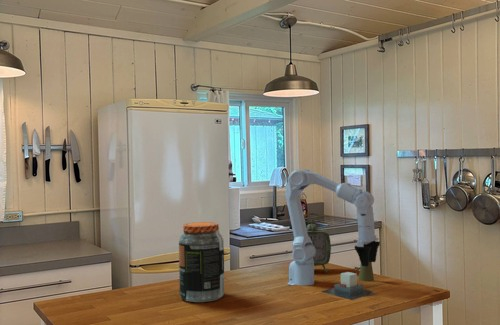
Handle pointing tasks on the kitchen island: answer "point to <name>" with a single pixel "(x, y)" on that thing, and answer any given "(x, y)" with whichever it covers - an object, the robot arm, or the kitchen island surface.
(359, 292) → the stand base
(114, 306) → the kitchen island surface
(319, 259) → the tabletop clock
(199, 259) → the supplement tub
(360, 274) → the green pawn
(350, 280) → the pale grey block
